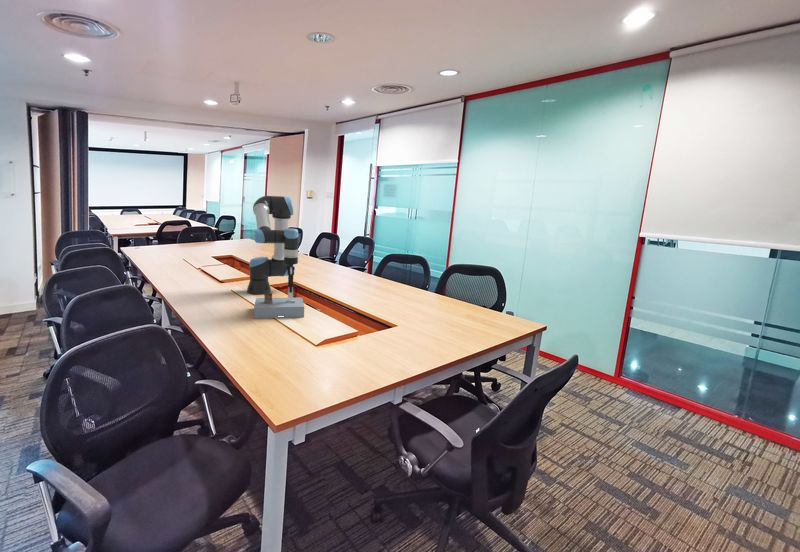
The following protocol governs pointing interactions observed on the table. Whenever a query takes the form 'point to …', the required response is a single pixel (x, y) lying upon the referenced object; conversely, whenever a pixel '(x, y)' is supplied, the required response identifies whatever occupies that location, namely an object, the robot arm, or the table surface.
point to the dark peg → (268, 298)
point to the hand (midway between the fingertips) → (290, 297)
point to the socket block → (279, 308)
